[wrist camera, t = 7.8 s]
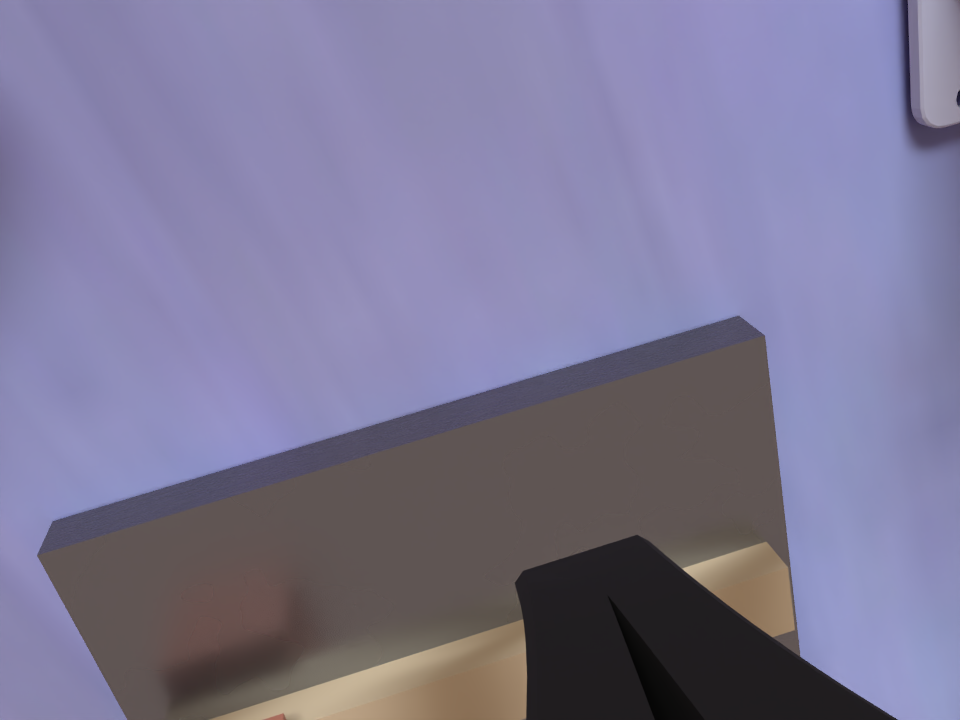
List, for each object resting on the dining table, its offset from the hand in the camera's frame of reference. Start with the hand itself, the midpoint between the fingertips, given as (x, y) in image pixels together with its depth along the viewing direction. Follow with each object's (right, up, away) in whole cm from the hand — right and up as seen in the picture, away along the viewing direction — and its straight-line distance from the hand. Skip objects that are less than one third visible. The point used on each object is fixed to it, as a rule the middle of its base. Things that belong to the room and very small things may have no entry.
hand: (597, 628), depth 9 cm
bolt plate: (-1, -5, +13) cm, 13 cm away
